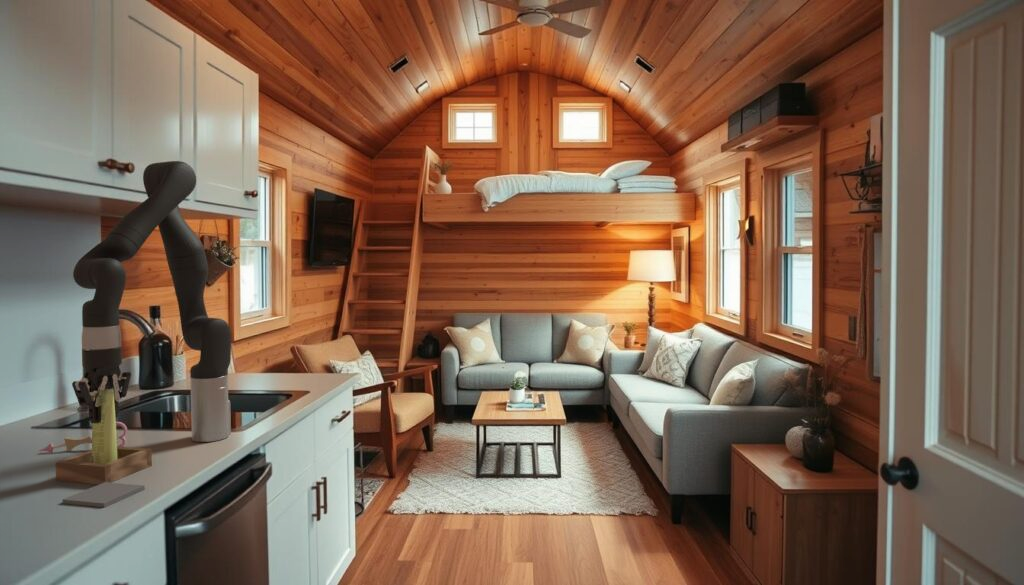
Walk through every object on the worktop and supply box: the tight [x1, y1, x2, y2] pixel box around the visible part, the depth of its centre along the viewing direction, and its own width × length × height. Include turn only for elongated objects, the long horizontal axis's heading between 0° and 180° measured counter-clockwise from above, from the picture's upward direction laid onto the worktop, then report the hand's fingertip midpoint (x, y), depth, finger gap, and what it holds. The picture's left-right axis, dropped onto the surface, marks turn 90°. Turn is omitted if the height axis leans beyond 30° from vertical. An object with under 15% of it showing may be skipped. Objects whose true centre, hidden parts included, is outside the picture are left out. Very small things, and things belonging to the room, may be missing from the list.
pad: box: [61, 482, 145, 508], centre depth 127 cm, size 10×10×1 cm
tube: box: [91, 390, 118, 464], centre depth 141 cm, size 6×5×20 cm
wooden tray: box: [54, 446, 153, 485], centre depth 141 cm, size 13×13×4 cm
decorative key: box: [38, 421, 128, 454], centre depth 159 cm, size 7×1×20 cm
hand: (104, 419), depth 141 cm, fingers closed on tube, 4 cm apart
